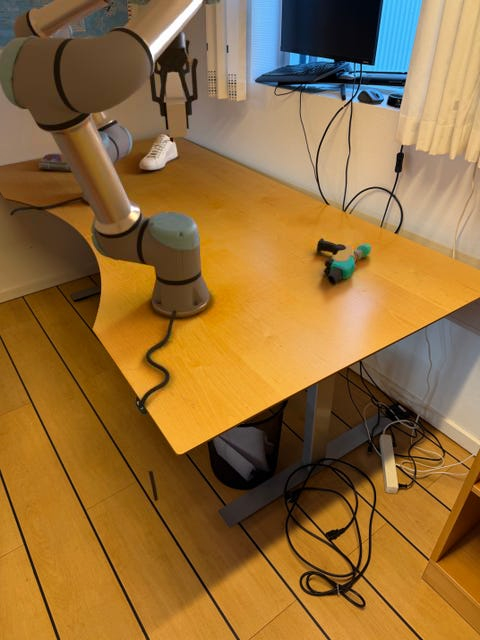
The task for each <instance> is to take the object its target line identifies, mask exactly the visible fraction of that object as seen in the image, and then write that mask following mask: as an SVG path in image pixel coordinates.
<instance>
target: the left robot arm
mask: <svg viewBox="0 0 480 640" xmlns="http://www.w3.org/2000/svg"><path fill="white" fill-rule="evenodd" d="M116 1H117V0H53V1H51V2H49V3H48V4H46V5H44V6H42V7H41V8H39V9H38V8H30V9H29V10H28V11H26V12H24V13H22V14H20V15H18V16H17V18H16V19H15V21H14V24H13V34H14V36H15V38H22V37H29V36H37V37H39V38H73V39H74V37H73V34H74V32H73V29H72V26H71V25H74V24H76V23H77V22H80V21H81V20H82V19H84V18H86V17H88V16H90V15H91V14H93V13H95V12H97V11H99V10H100V9H102V8H104V7H106V6H107V5H108V6H109V4H112V3H115V2H116ZM190 44H191V42H190V40H189V38H185V46H186V52H187V54H188V56H190V53H189V52H190V51H189V47H190ZM159 67H160V68H159ZM159 67H158V63H157V61H156V62H155V67H154V75H159V81H160V82H161V81H162V73H163V69H162V68H161V66H159ZM182 70H183V74H184V77H185V78H186V74H188V73H191V66H190V65H189V61H188V60H187V61H186V63H185V68H184V67H183V69H182ZM181 85H182V83H181ZM182 90H183V87H182ZM183 91H184V90H183ZM164 97H166V89H165V96H164ZM91 117H92V119H93V121H94V124H95V126H96V128H97V130H98V132H99V135H100V137H101V139H102V141H103V144H104V146H105V148H106V150H107V153H108V155H109V157H110V159H111V162H112V164H113V165H114V164H115V163H117V162H118V161H120V160H122V159H124V158H125V157H127V155H128V154H130V152H131V150H132V148H133V139H132V135H131V133H130V131H129V130H128V129H127V128H126V127H123V126H122V125H120V123H118V120H117V119H116V118H114V117H112V116H110V114H109V113H108V110H105V111H103V112H98V113H93V114H92V116H91ZM80 200H82V201H83V202H84V203H85V204H87V205H88V204H89V203H88V201H87V199H86V197H85V195H84V193H83V192H82V191H81V196H78V197H75V198H71V199H68V200H64V201H61V202H57V203H53V204H49V205H43V206H39V205H38V206H36V205H35V206H25V207H24V206H23V207H17V208H14V209H13V210H12V211H11V212H10V214H9V215H10V216H13V215H14V214H15V213H16V212H18V211H26V210H27V211H28V210H45V209H51V208H55V207H60V206H63V205H66V204H69V203H73V202H76V201H80Z"/></svg>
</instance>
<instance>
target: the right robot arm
mask: <svg viewBox="0 0 480 640" xmlns="http://www.w3.org/2000/svg"><path fill="white" fill-rule="evenodd" d="M126 1H127V2H129V3H130V4H133V5H138V6H143V7H142V8H140V10H139V11H138V12H137V13H136V14H135V15H134V16H133V17H132V18H131V19H130V20H129V21H128V22H127V23H126V24H125V25H124V26H116V27H113V28H112V29H110V30H109V31H108V32H107V33H106V34H105V35H101V36H98V37H90V38H85V37H84V38H83V37H82V38H79V37H77V38H74V37H73V38H39V37H37V36H29V37H22V38H16V37H15V38H13V39H11V40H9V41H8V43H7V44H6V45H5V46H4V47H3V49H2V51H1V53H0V86H1V90H2V93H3V94H4V96H5V98H6V99H7V101H9V102H10V103H11V105H13V106H15V107H18V108H19V109H22V110H28V112H29V114H30V115H31V117H32V118H33V120H34V122H35V124H36V126H37V127H38V128H39V129H40V130H41V131H44V132H46V133H50V134H51V137H52V138H53V141H54V142H55V144H56V145H57V148H58V150H59V151H60V154H61V156H62V158H64V160H65V162H67V164H68V166H69V168H70V170H71V171H70V172H71V173H72V175H73V177H74V179H75V181H76V182H77V185H78V187H79V188H80V190H81V193H82V192H83V193H84V195H85V197H86V199H87V201H88V203H89V206H90V208H91V210H92V212H93V214H94V216H93V219H92V223H91V227H90V233H91V234H92V235H91V241H92V244H93V247H94V249H95V250H96V251H97V252H98V253H99V254H100V255H101V256H103V257H105V258H109V259H111V260H114V261H122V262H128V263H134V264H138V265H139V264H140V265H145V266H150V267H153V268H154V274H155V275H154V276H155V281H154V284H153V290H152V294H151V305H152V308H153V310H154V311H155V312H156V313H157V314H159V315H160V316H163V317H167V318H170V319H169V323H168V327H167V333H166V334H165V337H164V338H163V339H162V340H161V341H160V342H158V343H156V344H155V345H153V346H152V347H150V348H149V349H148V350H147V352H146V355H145V359H146V361H147V363H148V364H149V365H151V366H152V367H154V368H156V369H157V370H159V371H161V372H162V373H164V375H165V379H164V380H163V381H162V382H160V383H159V384H156V385H155V386H153V387H151V388H150V389H149V390H147V391H146V392H145V393H144V395H143V396H142V397H141V400H140V402H139V406H138V407H139V408H140V409H142V408H144V406H145V403H146V401H147V399H148V398H149V397H150V396H151V395H152V394H153V393H155V392H156V391H159V390H161V389H162V388H164V387H165V386H166V385H168V383H169V381H170V379H171V376H170V372H169V370H168V369H167V368H166V367H164V366H162V365H161V364H159V363H157V362H155V361H154V360H152V358H151V354H152V353H153V352H154V351H155V350H157V349H159V348H161V347H162V346H164V345H165V344H166V343H167V342H168V340H169V339H170V337H171V333H172V331H173V330H172V329H173V325H174V321H175V319H183V318H185V319H186V318H190V317H194V316H196V315H199V314H201V313H202V312H204V311H205V310H207V308H208V307H209V306H210V303H211V292H210V290H209V288H208V286H207V284H206V281H205V278H204V277H203V275H202V262H201V261H202V259H201V238H200V233H199V228H198V224H197V223H196V222H195V220H194V219H193V218H192V217H190V216H189V215H188V214H184V213H181V212H176V211H168V212H166V211H161V212H158V213H154V214H153V215H152V216H150V217H147V216H144V215H143V213H142V210H141V209H140V206H139V205H138V204H137V203H136V202H135V201H134V200H131V199H129V197H128V195H127V192H126V190H125V189H124V188H125V187H124V186H123V183H122V182H121V180H120V177H119V174H118V173H117V170H116V168H115V166H114V164H112V162H111V159H110V157H109V155H108V153H107V150H106V148H105V146H104V144H103V141H102V139H101V137H100V135H99V132H98V130H97V128H96V126H95V124H94V121H93V119H92V117H91V116H92V114H93V113H98V112H103V111H105V110H106V111H109V110H111V109H112V108H114V107H117V106H118V105H120V104H122V103H123V102H125V101H126V100H128V99H129V98H131V97H132V96H133V95H134V94H135V93H137V92H138V91H140V89H141V88H142V87H143V86H144V85H145V84H146V83H147V82H148V80H149V84H150V92H151V101H152V102H153V103H157V104H158V105H159V113H160V117H164V120H165V121H164V122H165V130H166V131H169V129H168V118H167V107H166V101H165V97H166V96H165V89H166V81H167V74H168V73H170V72H178V74H179V77H180V80H181V83H182V88H183V94H184V96H185V97H184V98H185V100H186V101H185V111H186V125H187V130H189V129H190V123H189V122H190V121H189V116H192V115H193V106H192V103H193V102H194V101H197V100H198V99H199V95H198V77H197V66H198V63H199V60H198V58H197V57H193V56H190V55H189V56H188V54H187V52H186V46H185V39H186V34H185V32H184V30H183V29H184V28H185V27H186V26H187V24H188V23H189V22H190V21H191V19H192V18H193V17H194V16H195V15H196V14H197V12H198V11H199V10H200V9H201V8H202V7H203V6H204V5H208V6H211V5H218V4H219V3H220V2H222V0H126ZM187 60H188V61H189V65H190V73H191V74H190V75H191V76H190V77H191V89H192V94H190V91H189V87H188V84H187V81H186V76H185V77H184V74H183V70H182V69H183V68H184V67H185V66H186V61H187ZM156 61H157V65H159V67H161V68H162V69H163V73H162V81H160V89H159V96H158V95H157V87H156V86H157V85H156V78H155V77H156V76H155V73H154V67H155V62H156ZM88 203H87V204H88ZM148 476H149V480H150V484H151V490H152V496H153V500H154V502H157V501H158V500H159V497H158V490H157V485H156V480H155V476H154V472H153V470H148Z"/></svg>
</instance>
